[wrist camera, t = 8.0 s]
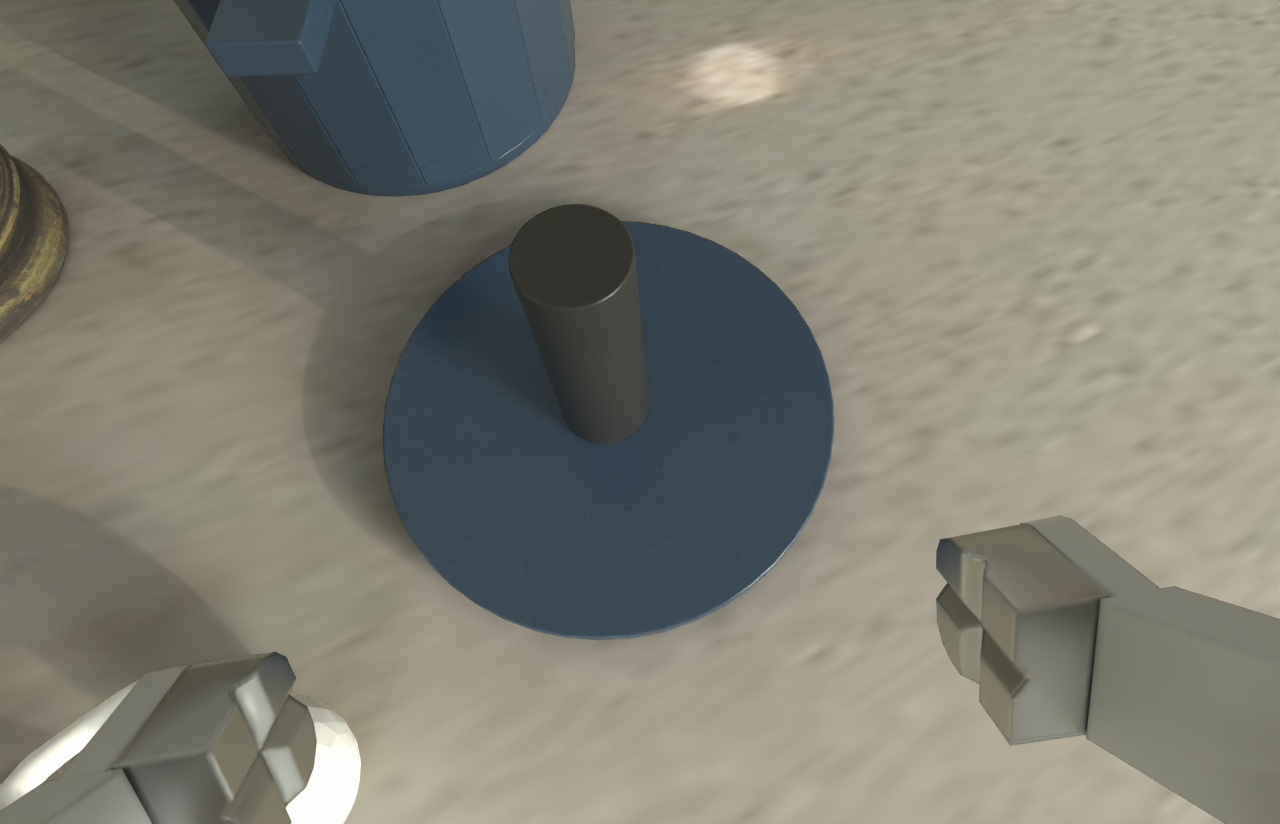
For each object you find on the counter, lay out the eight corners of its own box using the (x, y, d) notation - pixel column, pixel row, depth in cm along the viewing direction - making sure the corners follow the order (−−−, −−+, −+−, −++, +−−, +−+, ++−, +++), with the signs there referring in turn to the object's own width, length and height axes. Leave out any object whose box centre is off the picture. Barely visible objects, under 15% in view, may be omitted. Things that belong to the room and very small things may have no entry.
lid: (362, 640, 20) (164, 585, 13) (425, 244, 26) (312, 31, 18) (848, 645, 20) (959, 590, 12) (809, 236, 25) (869, 11, 17)
